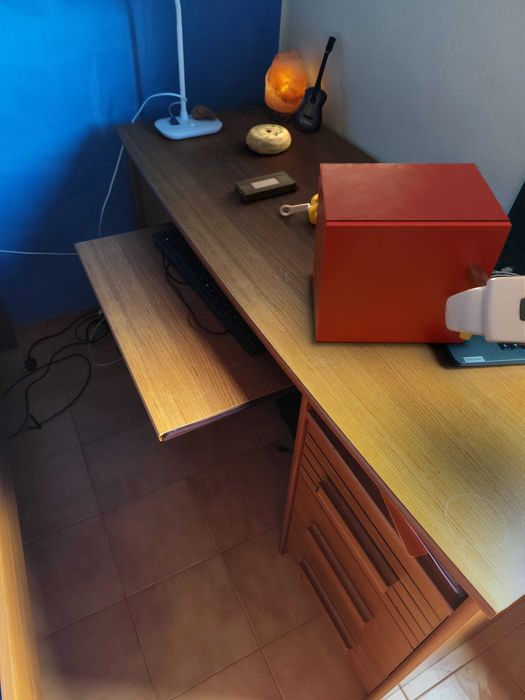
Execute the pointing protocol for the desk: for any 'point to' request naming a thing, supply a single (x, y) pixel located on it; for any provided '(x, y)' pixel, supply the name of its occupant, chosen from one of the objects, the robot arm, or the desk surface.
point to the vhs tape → (265, 186)
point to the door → (401, 278)
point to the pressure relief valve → (304, 209)
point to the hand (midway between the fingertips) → (510, 316)
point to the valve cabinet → (399, 199)
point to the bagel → (268, 139)
